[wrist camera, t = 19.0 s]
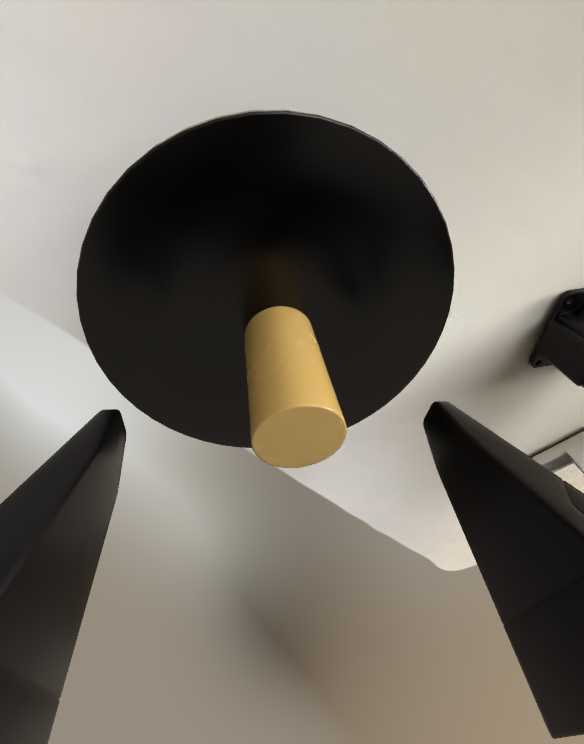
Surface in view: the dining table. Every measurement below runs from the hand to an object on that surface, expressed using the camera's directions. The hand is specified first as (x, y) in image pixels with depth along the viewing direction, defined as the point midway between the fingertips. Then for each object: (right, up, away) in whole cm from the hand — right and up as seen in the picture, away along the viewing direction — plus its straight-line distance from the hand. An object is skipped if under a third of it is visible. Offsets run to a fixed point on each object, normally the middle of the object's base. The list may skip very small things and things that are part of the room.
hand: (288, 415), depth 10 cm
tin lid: (-1, +3, +4) cm, 5 cm away
